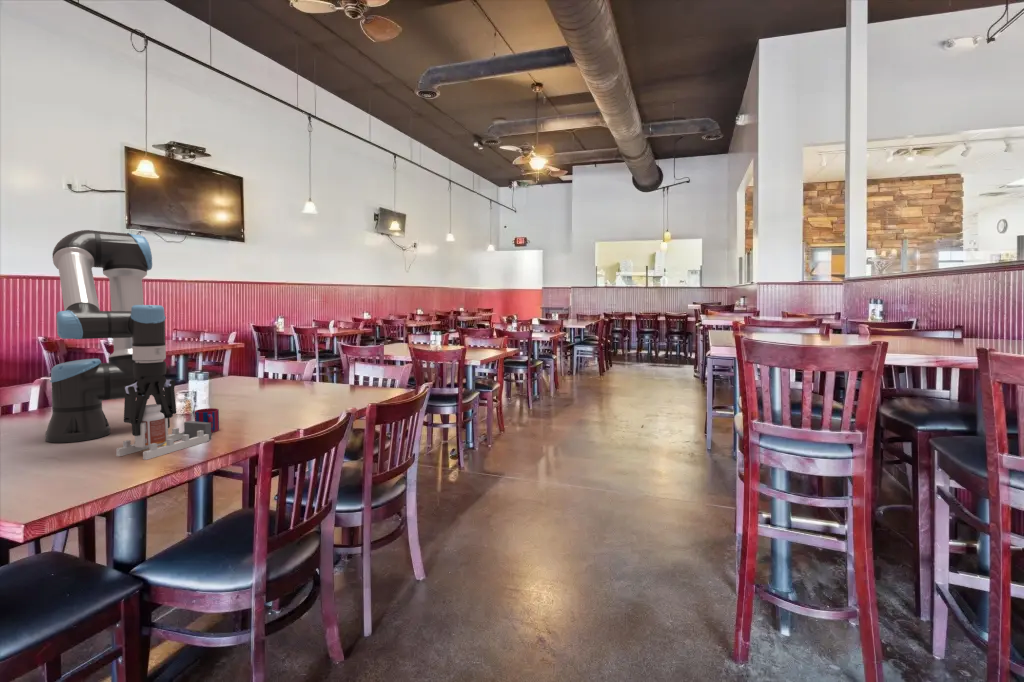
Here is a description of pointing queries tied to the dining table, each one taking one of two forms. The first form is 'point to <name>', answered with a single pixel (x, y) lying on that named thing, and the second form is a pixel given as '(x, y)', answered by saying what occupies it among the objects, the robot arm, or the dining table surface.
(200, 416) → the mug
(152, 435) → the pill bottle
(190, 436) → the comb channel
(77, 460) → the dining table surface
